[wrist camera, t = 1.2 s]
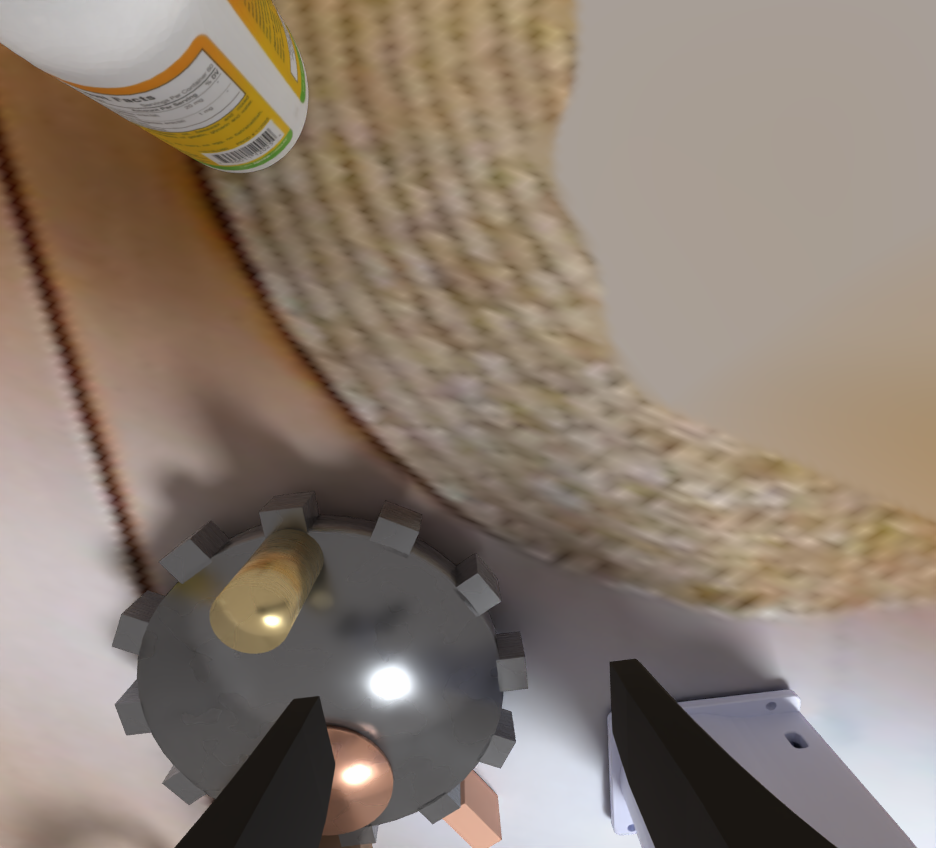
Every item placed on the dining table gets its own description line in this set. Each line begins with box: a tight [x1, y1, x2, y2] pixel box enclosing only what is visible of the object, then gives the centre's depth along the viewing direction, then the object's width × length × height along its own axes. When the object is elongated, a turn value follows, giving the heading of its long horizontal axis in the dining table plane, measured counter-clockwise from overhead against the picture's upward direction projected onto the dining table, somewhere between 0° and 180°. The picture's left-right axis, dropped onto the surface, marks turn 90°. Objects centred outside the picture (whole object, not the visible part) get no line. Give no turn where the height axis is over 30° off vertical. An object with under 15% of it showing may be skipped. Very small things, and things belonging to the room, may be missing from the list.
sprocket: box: [112, 491, 528, 847], centre depth 17 cm, size 17×17×5 cm
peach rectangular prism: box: [442, 770, 502, 848], centre depth 22 cm, size 3×1×2 cm, turn 36°
